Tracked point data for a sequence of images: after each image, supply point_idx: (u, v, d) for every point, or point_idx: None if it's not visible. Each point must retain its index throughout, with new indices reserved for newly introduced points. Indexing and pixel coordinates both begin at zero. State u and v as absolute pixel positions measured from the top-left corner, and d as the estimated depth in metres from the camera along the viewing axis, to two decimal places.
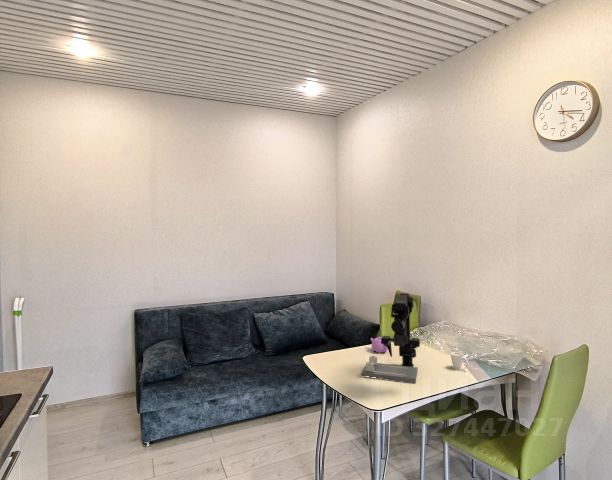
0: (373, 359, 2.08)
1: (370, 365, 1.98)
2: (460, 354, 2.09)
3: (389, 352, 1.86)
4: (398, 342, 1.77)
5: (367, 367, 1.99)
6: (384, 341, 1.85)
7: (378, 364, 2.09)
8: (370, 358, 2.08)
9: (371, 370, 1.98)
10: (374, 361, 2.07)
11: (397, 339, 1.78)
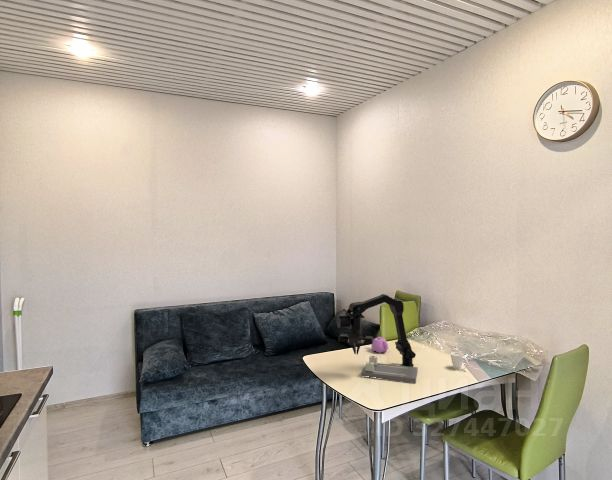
0: (373, 359, 2.08)
1: (370, 365, 1.98)
2: (460, 354, 2.09)
3: (353, 350, 2.02)
4: (352, 339, 1.94)
5: (367, 367, 1.99)
6: (341, 339, 2.02)
7: (378, 364, 2.09)
8: (370, 358, 2.08)
9: (371, 370, 1.98)
10: (374, 361, 2.07)
11: (351, 337, 1.95)
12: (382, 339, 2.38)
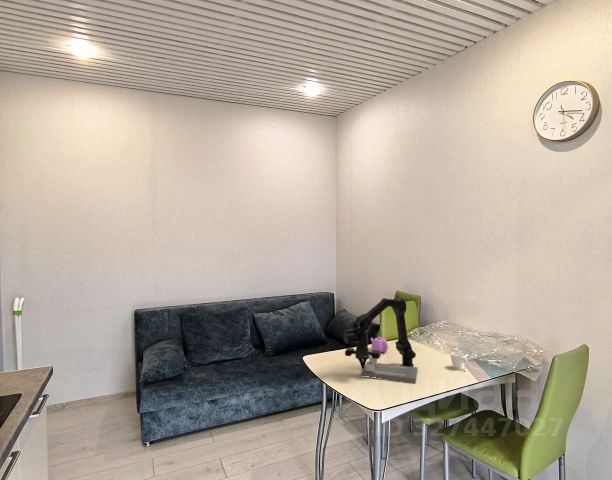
0: (373, 359, 2.08)
1: (370, 365, 1.98)
2: (460, 354, 2.09)
3: None
4: (359, 354, 1.93)
5: (367, 367, 1.99)
6: (348, 353, 2.01)
7: (378, 364, 2.09)
8: (370, 358, 2.08)
9: (371, 370, 1.98)
10: (374, 361, 2.07)
11: (358, 352, 1.94)
12: (382, 339, 2.38)
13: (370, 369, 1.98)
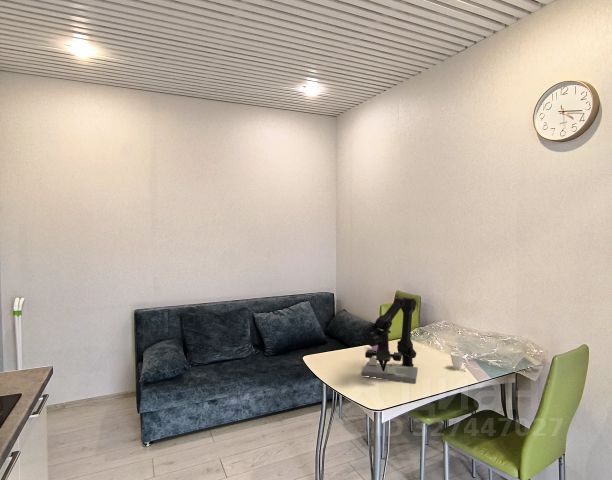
0: (373, 359, 2.08)
1: (392, 367, 1.94)
2: (460, 354, 2.09)
3: (381, 366, 1.97)
4: (380, 356, 1.89)
5: (388, 369, 1.95)
6: (368, 355, 1.97)
7: (378, 364, 2.09)
8: (370, 358, 2.08)
9: (393, 372, 1.94)
10: (374, 361, 2.07)
11: (379, 354, 1.90)
12: None
13: (391, 371, 1.94)
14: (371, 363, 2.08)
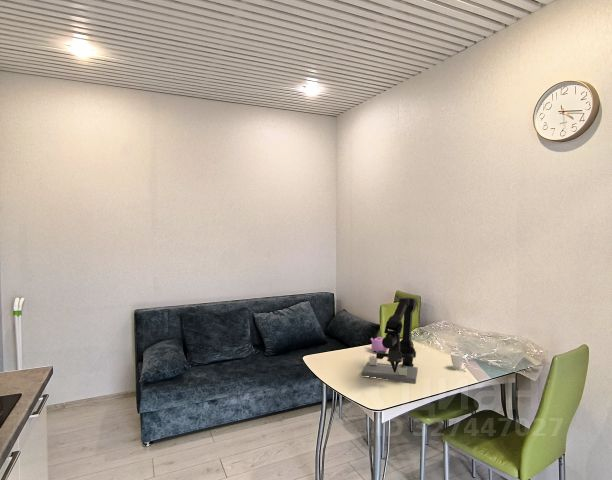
0: (373, 359, 2.08)
1: (403, 368, 1.92)
2: (460, 354, 2.09)
3: (392, 367, 1.95)
4: (392, 357, 1.87)
5: (400, 371, 1.93)
6: (379, 356, 1.95)
7: (378, 364, 2.09)
8: (370, 358, 2.08)
9: (404, 374, 1.92)
10: (374, 361, 2.07)
11: (391, 355, 1.88)
12: (382, 339, 2.38)
13: (403, 373, 1.92)
14: (371, 363, 2.08)
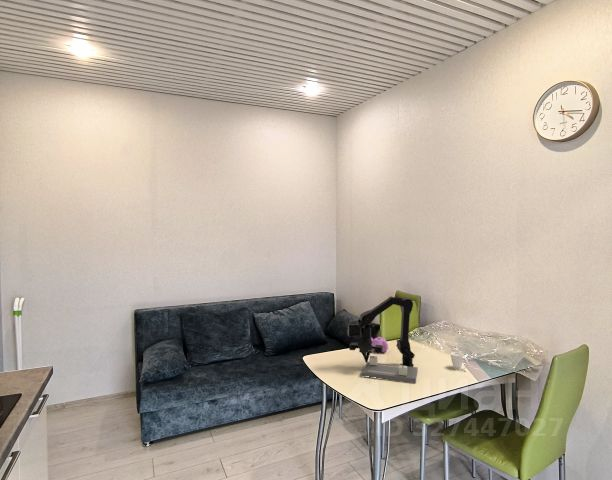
0: (373, 359, 2.08)
1: (403, 368, 1.92)
2: (460, 354, 2.09)
3: (364, 358, 2.10)
4: (363, 348, 2.03)
5: (400, 371, 1.93)
6: (352, 347, 2.10)
7: (378, 364, 2.09)
8: (370, 358, 2.08)
9: (404, 374, 1.92)
10: (374, 361, 2.07)
11: (362, 346, 2.04)
12: (382, 339, 2.38)
13: (403, 373, 1.92)
14: (371, 363, 2.08)
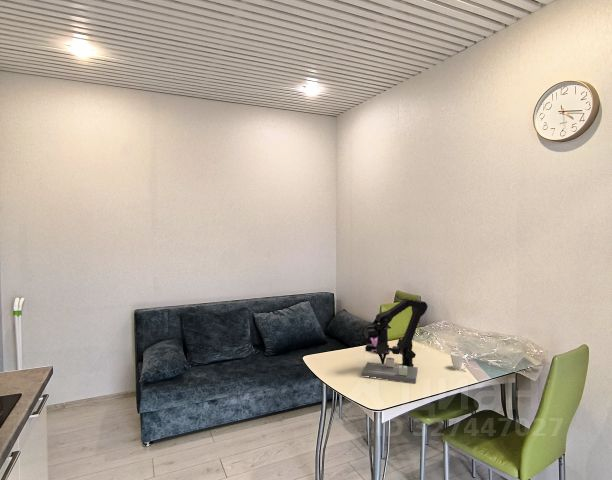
0: (390, 361, 2.04)
1: (403, 368, 1.92)
2: (460, 354, 2.09)
3: (380, 359, 2.07)
4: (380, 349, 1.99)
5: (400, 371, 1.93)
6: (368, 349, 2.07)
7: (378, 364, 2.09)
8: (387, 360, 2.05)
9: (404, 374, 1.92)
10: (391, 363, 2.04)
11: (379, 347, 2.00)
12: None
13: (403, 373, 1.92)
14: (388, 365, 2.05)
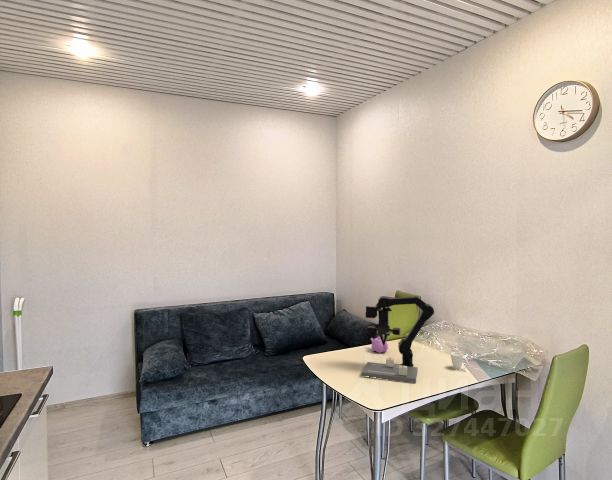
0: (390, 361, 2.04)
1: (403, 368, 1.92)
2: (460, 354, 2.09)
3: (381, 340, 2.14)
4: (381, 330, 2.06)
5: (400, 371, 1.93)
6: (369, 330, 2.14)
7: (378, 364, 2.09)
8: (387, 360, 2.05)
9: (404, 374, 1.92)
10: (391, 363, 2.04)
11: (380, 328, 2.07)
12: None
13: (403, 373, 1.92)
14: (388, 365, 2.05)
